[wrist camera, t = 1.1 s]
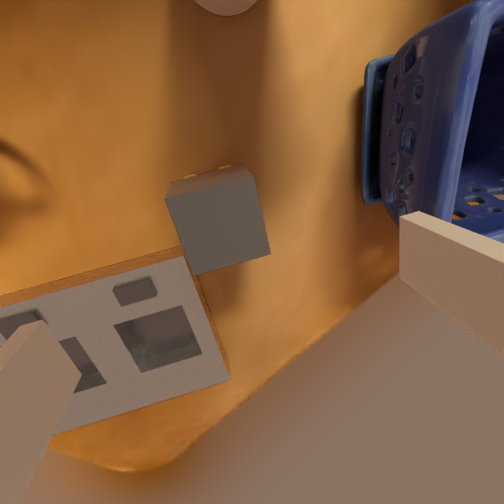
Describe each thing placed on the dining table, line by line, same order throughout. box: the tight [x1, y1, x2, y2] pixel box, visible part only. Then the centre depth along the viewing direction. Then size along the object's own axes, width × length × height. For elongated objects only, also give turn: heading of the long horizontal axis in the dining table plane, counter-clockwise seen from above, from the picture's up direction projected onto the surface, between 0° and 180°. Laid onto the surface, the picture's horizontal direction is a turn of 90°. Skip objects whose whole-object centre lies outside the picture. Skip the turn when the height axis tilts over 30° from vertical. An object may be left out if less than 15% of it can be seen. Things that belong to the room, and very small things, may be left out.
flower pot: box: [361, 0, 504, 243], centre depth 20 cm, size 13×13×12 cm
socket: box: [0, 246, 231, 435], centre depth 28 cm, size 16×20×3 cm
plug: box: [165, 164, 271, 276], centre depth 21 cm, size 5×5×10 cm
